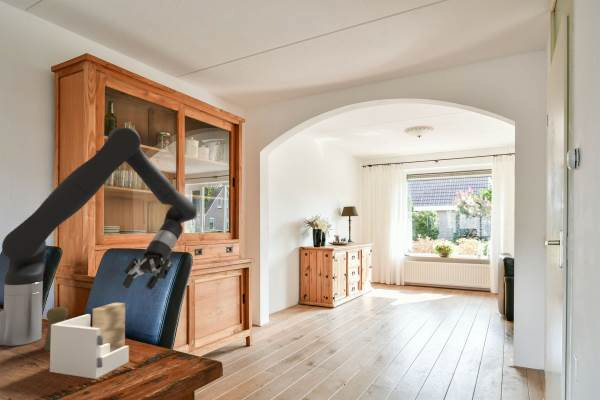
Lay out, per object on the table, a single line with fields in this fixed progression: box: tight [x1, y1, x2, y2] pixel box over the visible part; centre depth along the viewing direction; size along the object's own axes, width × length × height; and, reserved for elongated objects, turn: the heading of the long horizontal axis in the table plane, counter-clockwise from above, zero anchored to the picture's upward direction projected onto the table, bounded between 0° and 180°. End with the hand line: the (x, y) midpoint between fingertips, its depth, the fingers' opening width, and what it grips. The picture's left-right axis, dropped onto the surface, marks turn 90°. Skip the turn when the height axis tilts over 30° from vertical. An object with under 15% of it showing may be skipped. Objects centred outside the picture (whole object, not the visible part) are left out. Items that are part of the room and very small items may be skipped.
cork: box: [43, 306, 69, 352], centre depth 107 cm, size 6×6×11 cm
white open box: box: [49, 313, 130, 380], centre depth 92 cm, size 10×15×11 cm
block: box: [91, 302, 126, 352], centre depth 104 cm, size 8×4×12 cm, turn 163°
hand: (136, 287), depth 115 cm, fingers open, 8 cm apart
